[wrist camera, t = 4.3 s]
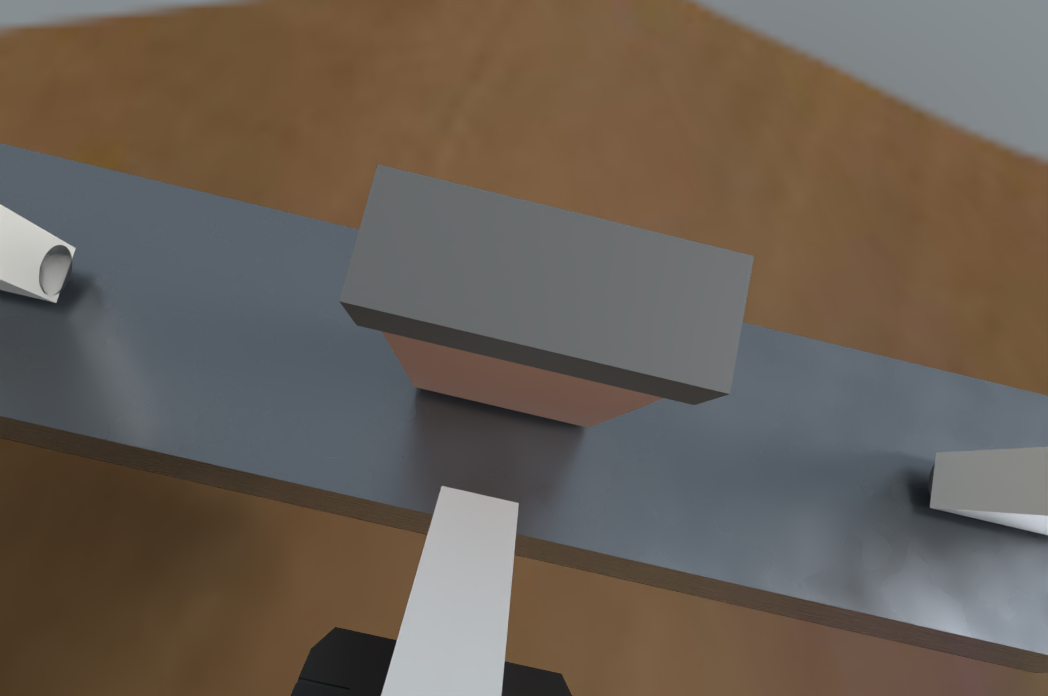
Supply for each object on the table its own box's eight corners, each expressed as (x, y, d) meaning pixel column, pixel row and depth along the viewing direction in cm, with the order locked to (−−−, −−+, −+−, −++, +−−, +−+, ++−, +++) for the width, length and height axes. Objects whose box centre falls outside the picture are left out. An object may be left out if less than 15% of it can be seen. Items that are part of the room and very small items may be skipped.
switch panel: (1035, 672, 23) (1122, 670, 20) (-132, 407, 22) (-215, 365, 19) (1011, 432, 26) (1082, 401, 23) (4, 191, 25) (-49, 128, 22)
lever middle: (593, 436, 21) (729, 393, 10) (405, 393, 21) (338, 301, 10) (607, 368, 21) (754, 256, 10) (423, 325, 21) (377, 163, 10)
